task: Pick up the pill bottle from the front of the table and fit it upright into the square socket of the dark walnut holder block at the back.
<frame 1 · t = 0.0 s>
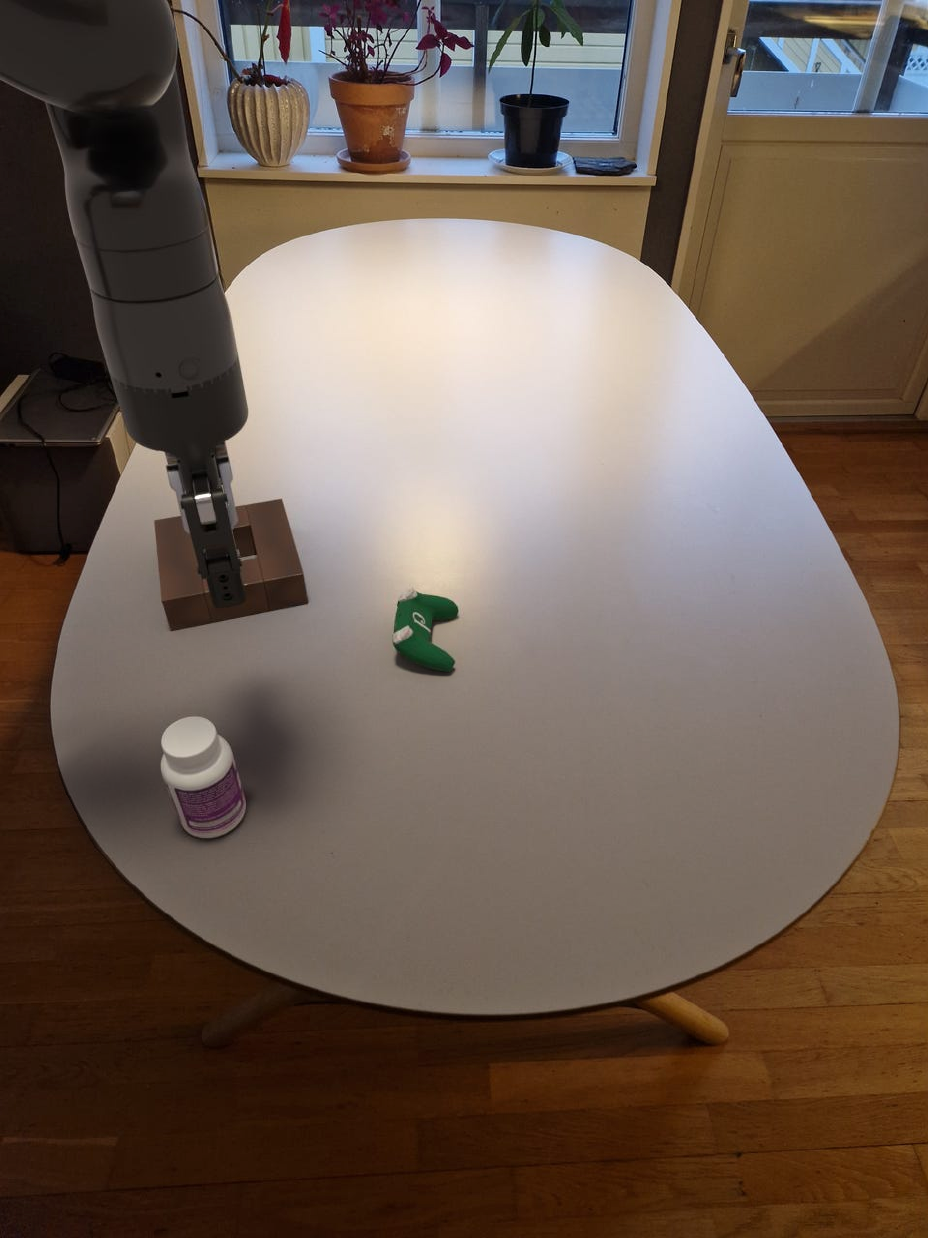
hand: (223, 566, 62), 20 cm above the table, tool pointing down, fingers open, 8 cm apart
gaming controller: (426, 642, 85), on the table
holder: (232, 575, 92), on the table
pill bottle: (214, 813, 70), on the table
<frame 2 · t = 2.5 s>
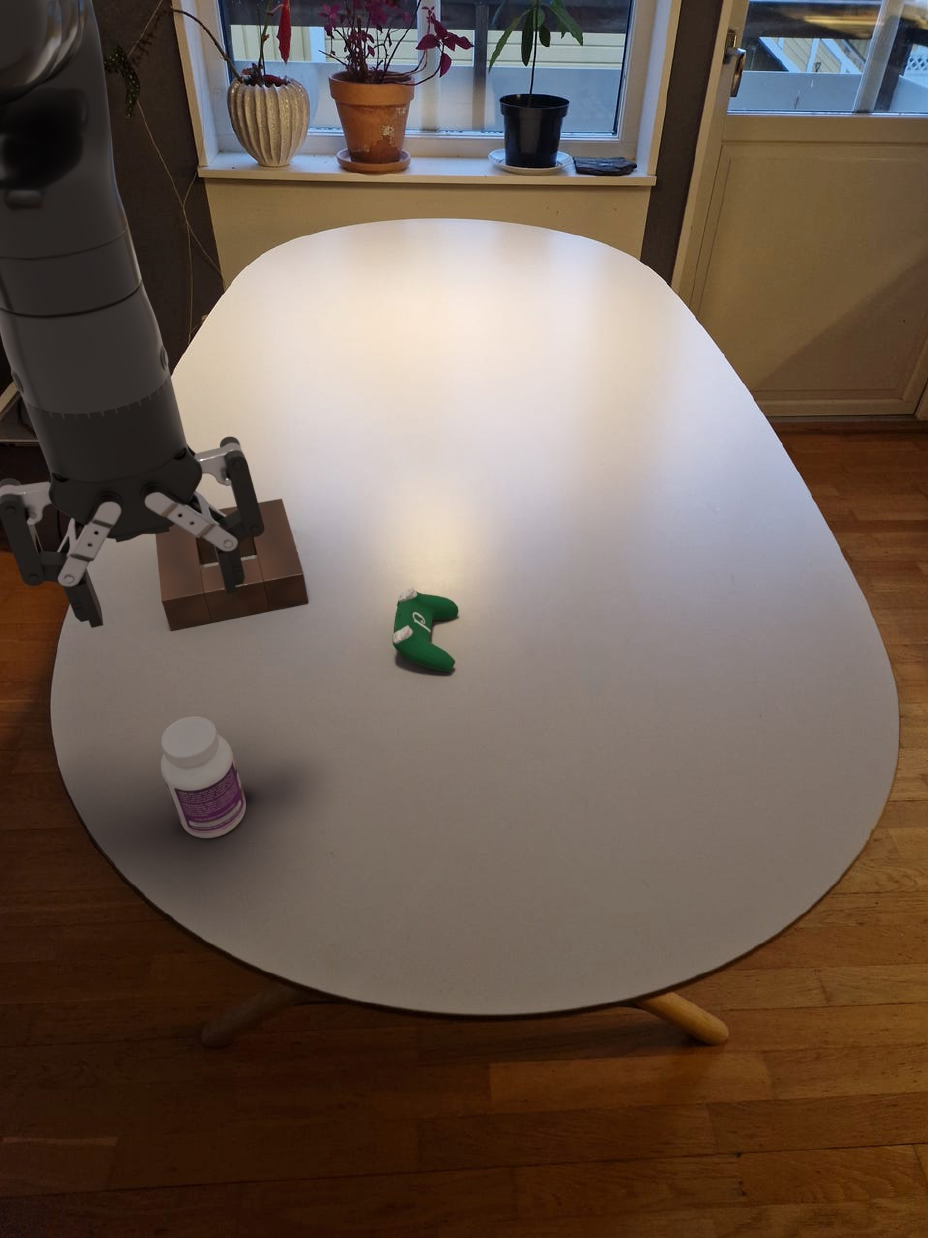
hand: (164, 602, 56), 22 cm above the table, tool pointing down, fingers open, 8 cm apart
nothing on the table moved.
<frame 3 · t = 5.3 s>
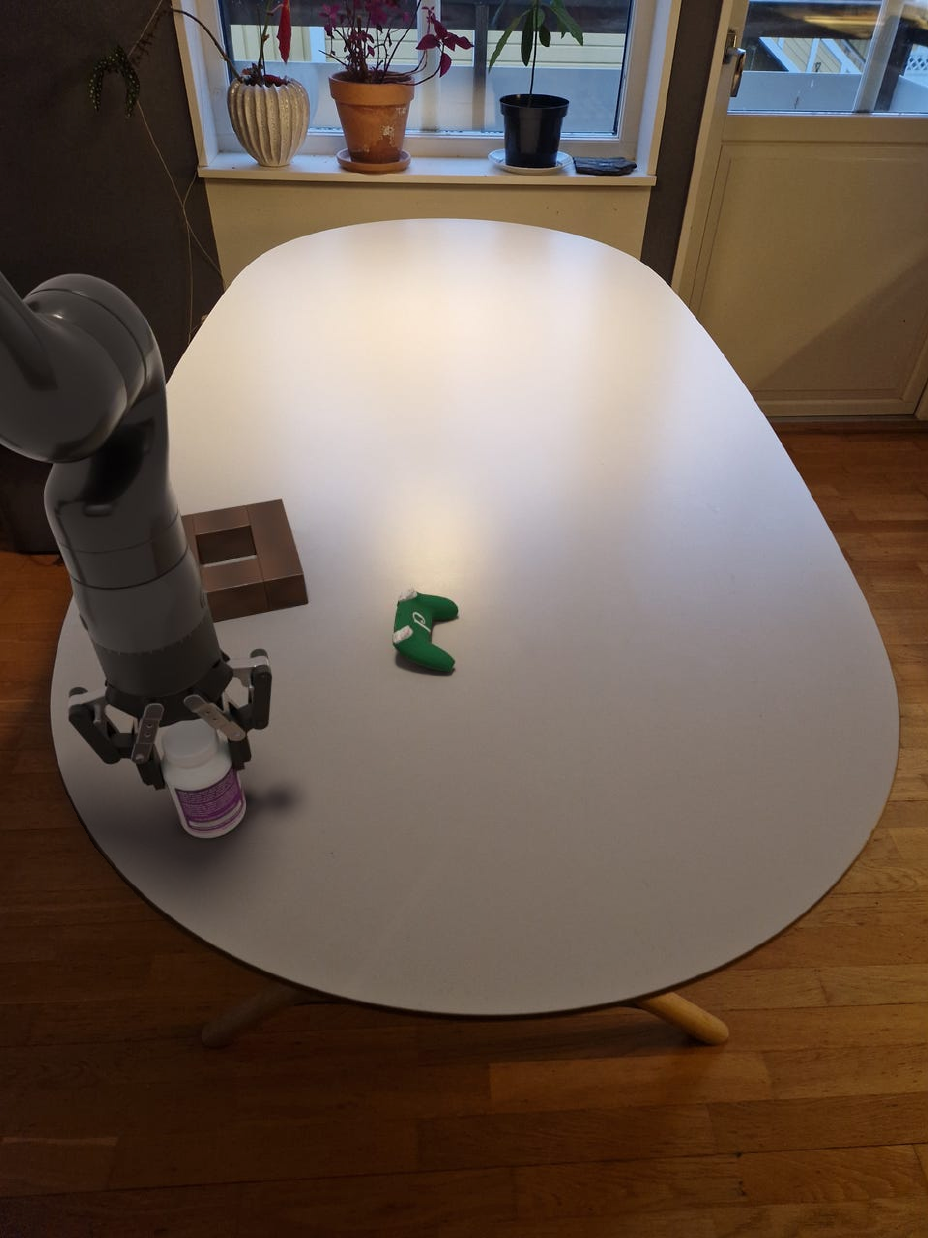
hand: (199, 770, 66), 5 cm above the table, tool pointing down, fingers closed on pill bottle, 5 cm apart
pill bottle: (214, 813, 70), on the table, touching gripper
everything else where it was.
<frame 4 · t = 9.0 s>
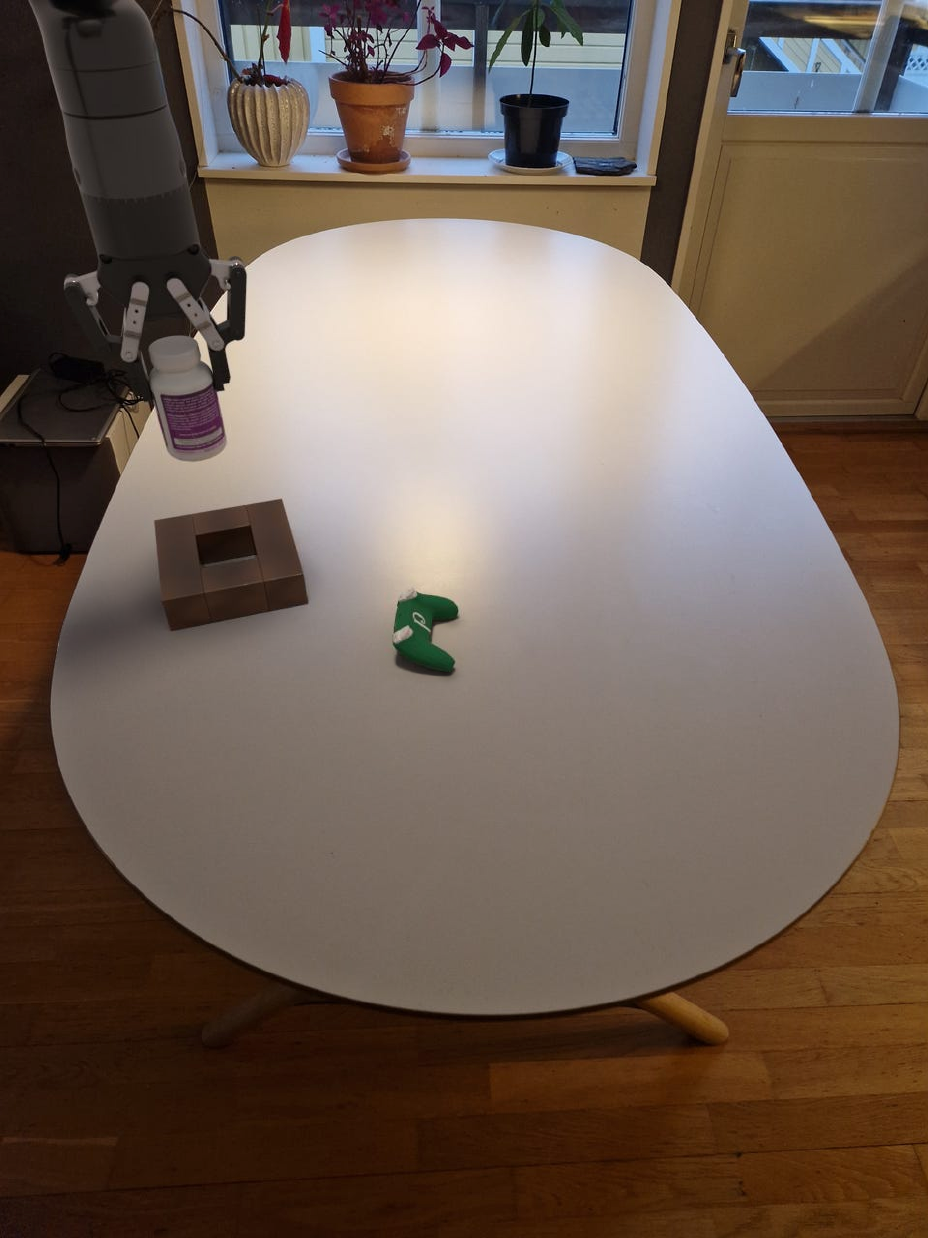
hand: (183, 391, 73), 24 cm above the table, tool pointing down, fingers closed on pill bottle, 5 cm apart
pill bottle: (198, 449, 77), point 18 cm above the table, touching gripper
everything else where it was.
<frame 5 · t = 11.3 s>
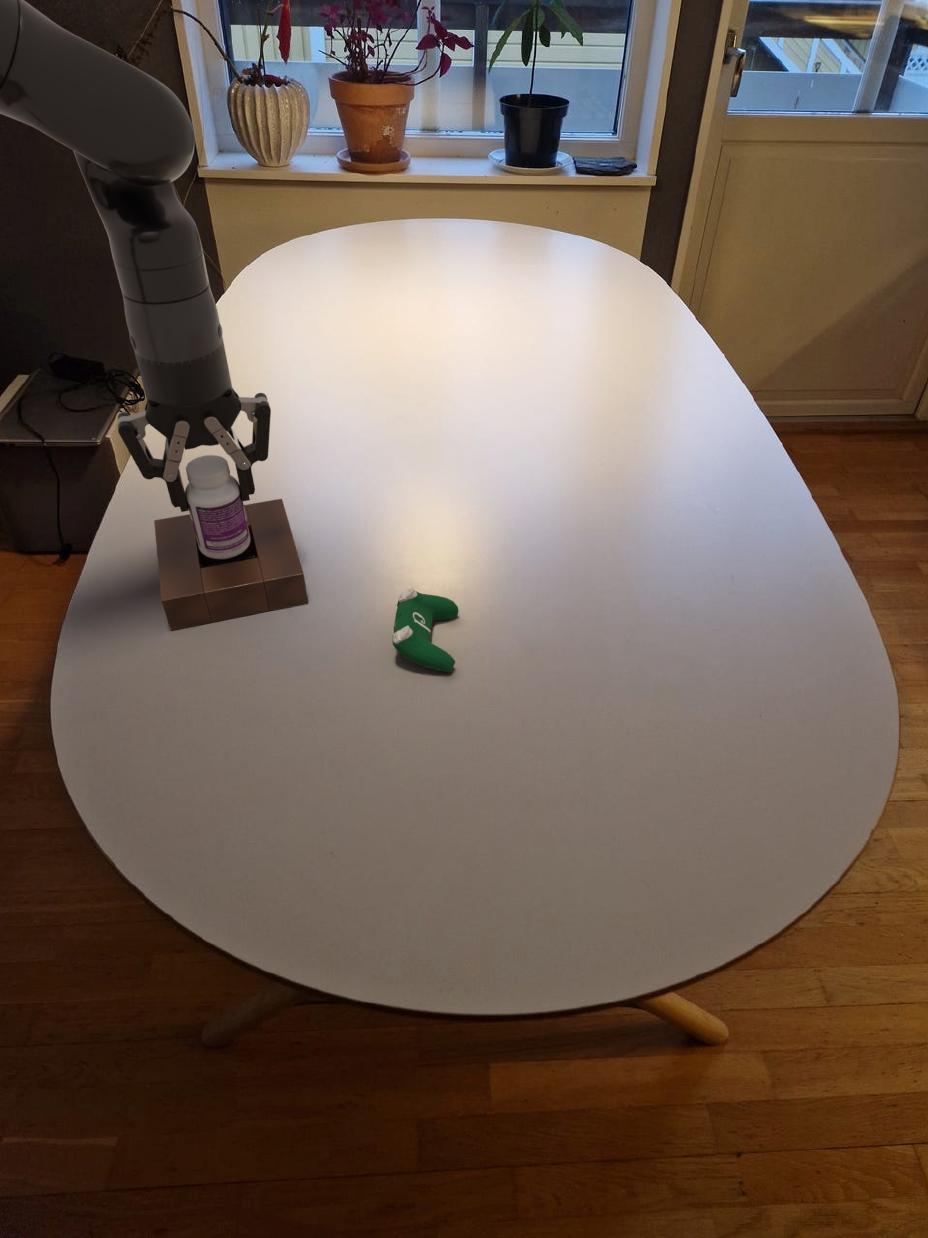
hand: (214, 501, 86), 10 cm above the table, tool pointing down, fingers closed on pill bottle, 5 cm apart
pill bottle: (225, 546, 89), point 4 cm above the table, touching gripper
everything else where it was.
when the fingers open (5 cm above the table, at t = 13.0 s): pill bottle stays where it is, resting in holder.
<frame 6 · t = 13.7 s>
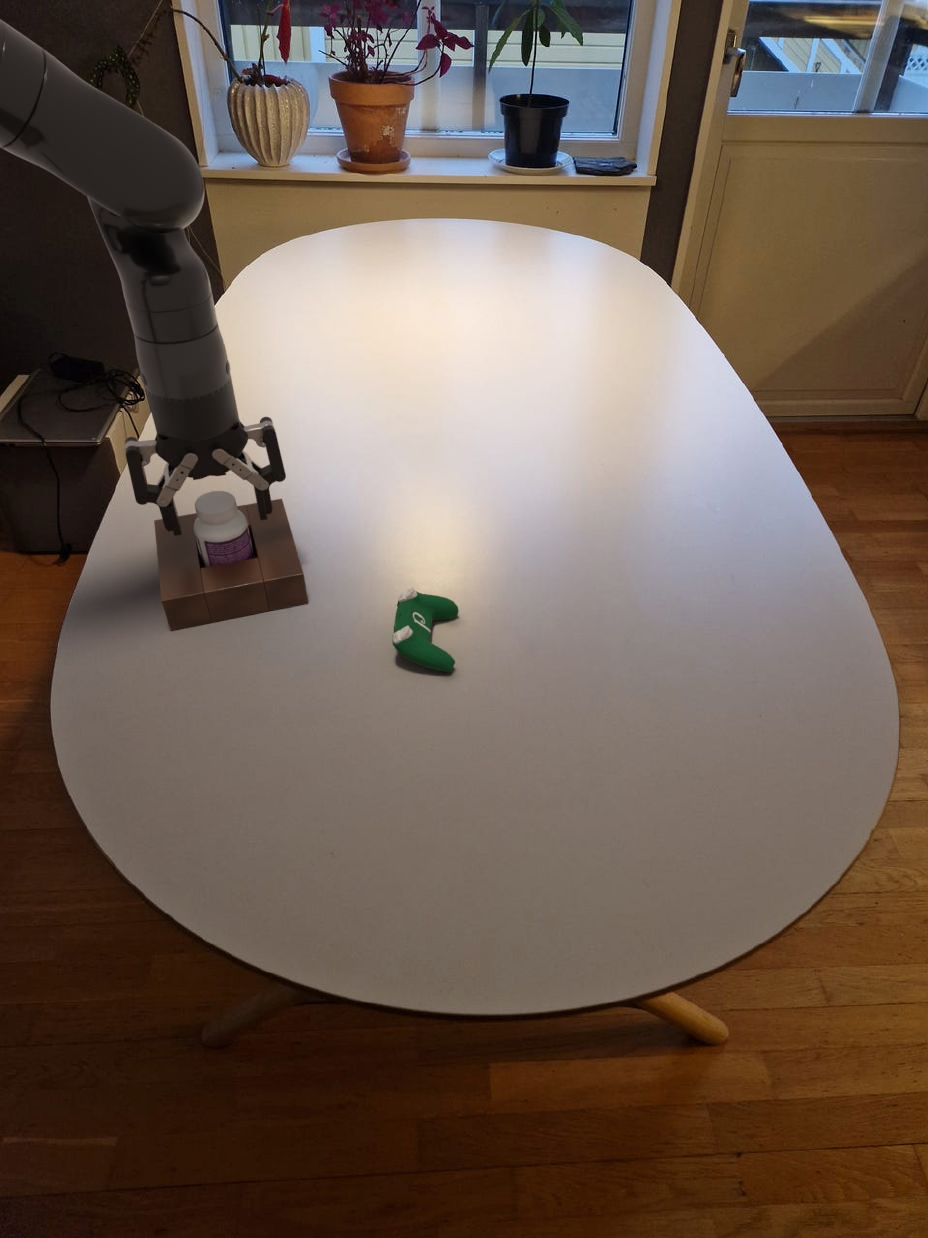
hand: (220, 523, 87), 7 cm above the table, tool pointing down, fingers open, 8 cm apart
pill bottle: (232, 577, 92), resting in holder
everything else where it was.
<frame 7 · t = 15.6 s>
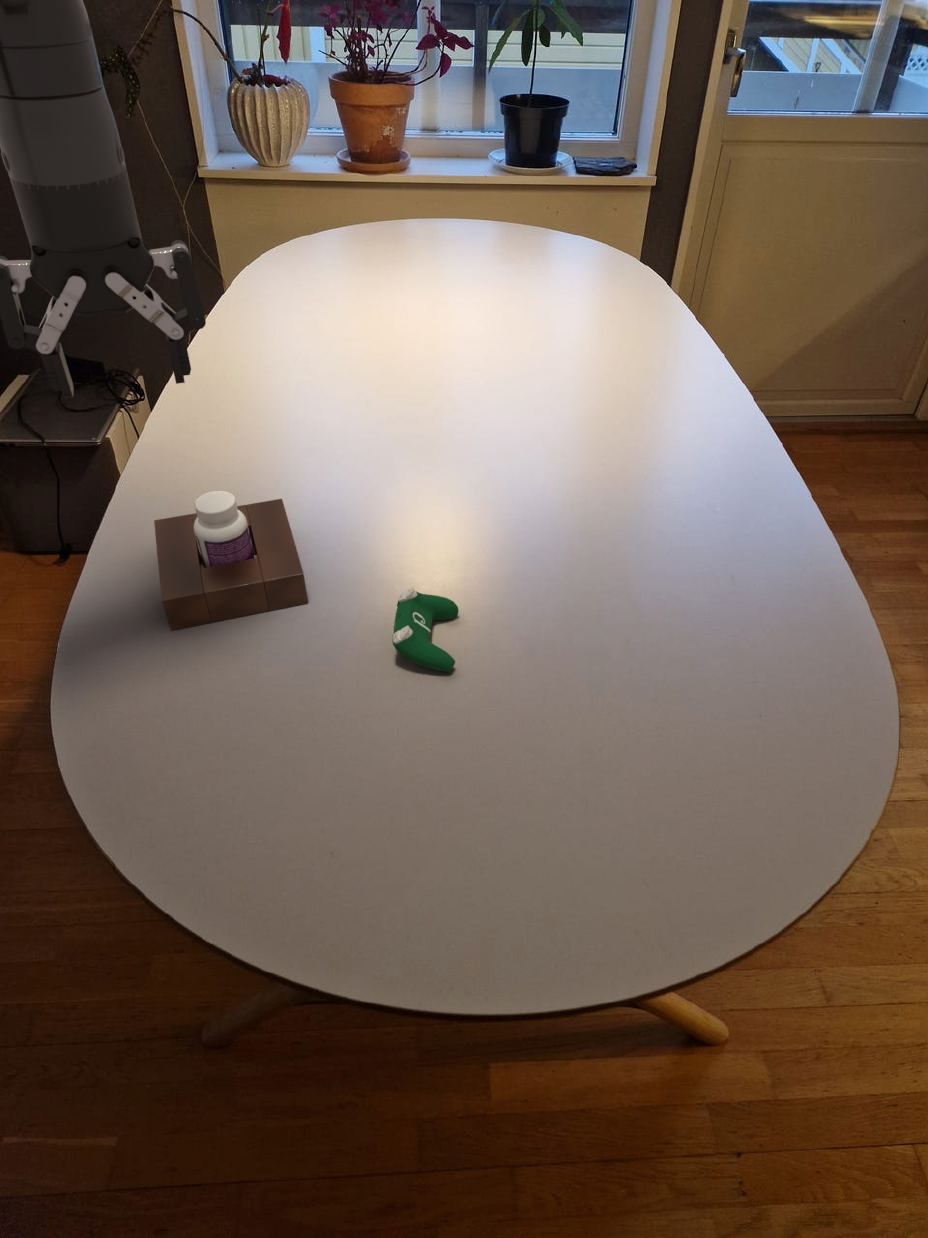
hand: (124, 386, 69), 26 cm above the table, tool pointing down, fingers open, 8 cm apart
nothing on the table moved.
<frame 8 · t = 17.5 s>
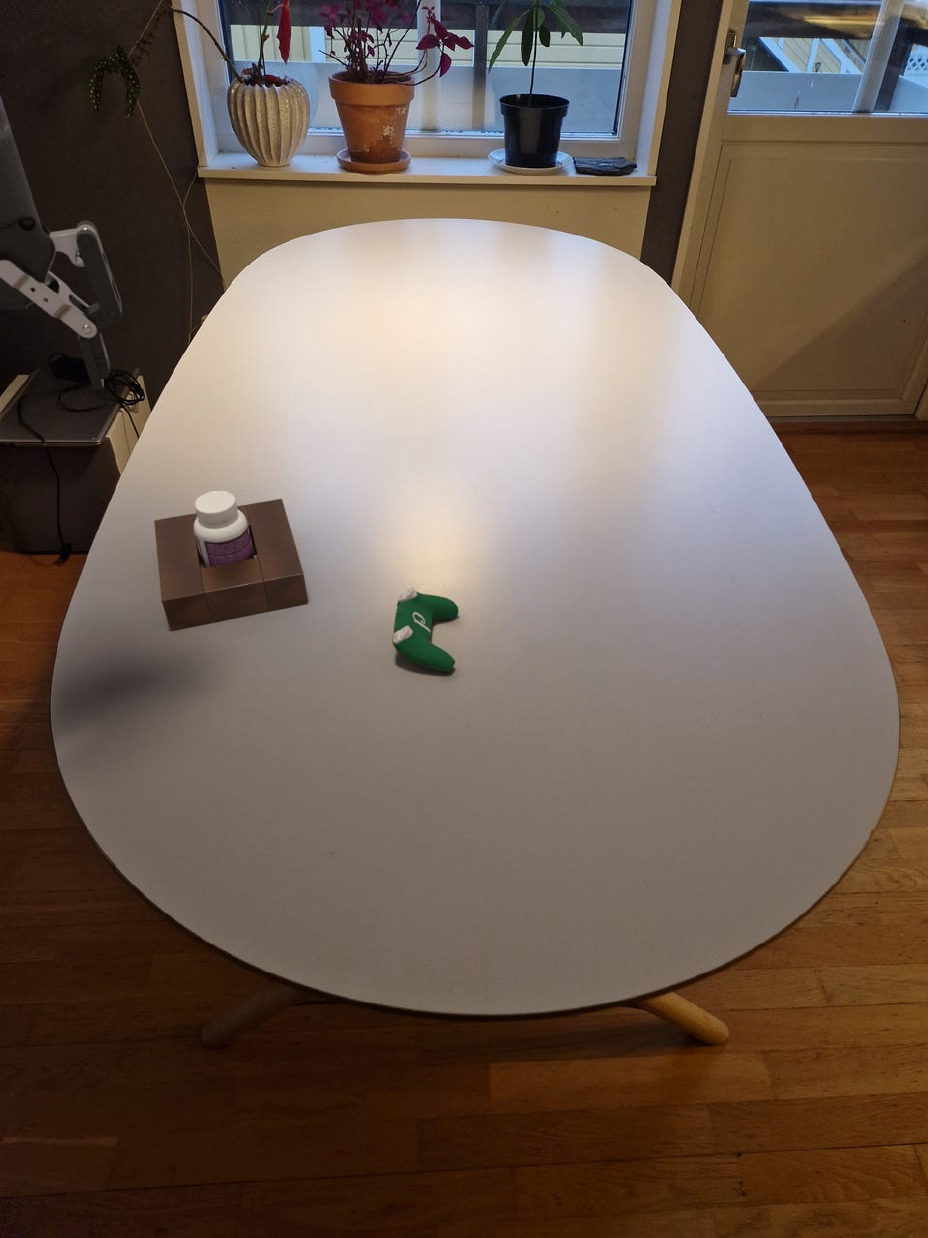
hand: (33, 392, 60), 30 cm above the table, tool pointing down, fingers open, 8 cm apart
nothing on the table moved.
at the end: pill bottle 0.1 cm off-centre in the holder, point 0.0 cm above the holder's base; pill bottle tilted 0° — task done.
